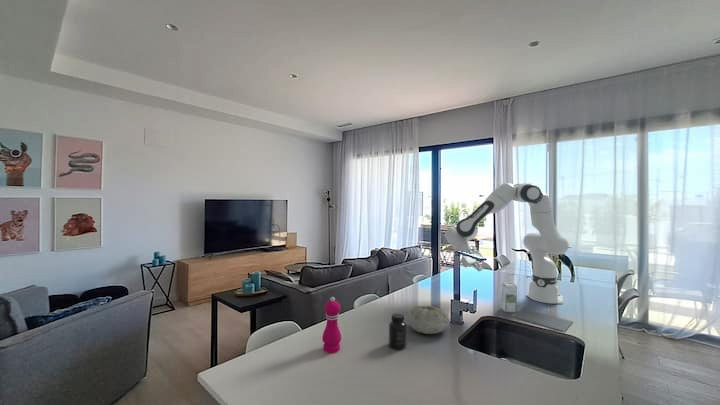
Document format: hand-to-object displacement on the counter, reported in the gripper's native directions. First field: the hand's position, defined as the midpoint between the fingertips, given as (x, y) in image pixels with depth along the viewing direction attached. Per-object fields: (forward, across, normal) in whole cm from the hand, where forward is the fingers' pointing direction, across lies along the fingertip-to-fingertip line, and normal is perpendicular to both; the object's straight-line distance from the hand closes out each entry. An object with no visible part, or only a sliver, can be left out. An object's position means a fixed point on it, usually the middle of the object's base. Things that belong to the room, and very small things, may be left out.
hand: (480, 270), depth 166 cm
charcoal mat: (+35, 0, -9) cm, 36 cm away
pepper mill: (+3, -95, +23) cm, 98 cm away
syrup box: (+24, 0, +2) cm, 24 cm away
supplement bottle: (+14, -74, +12) cm, 76 cm away
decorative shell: (+14, -53, +12) cm, 56 cm away
